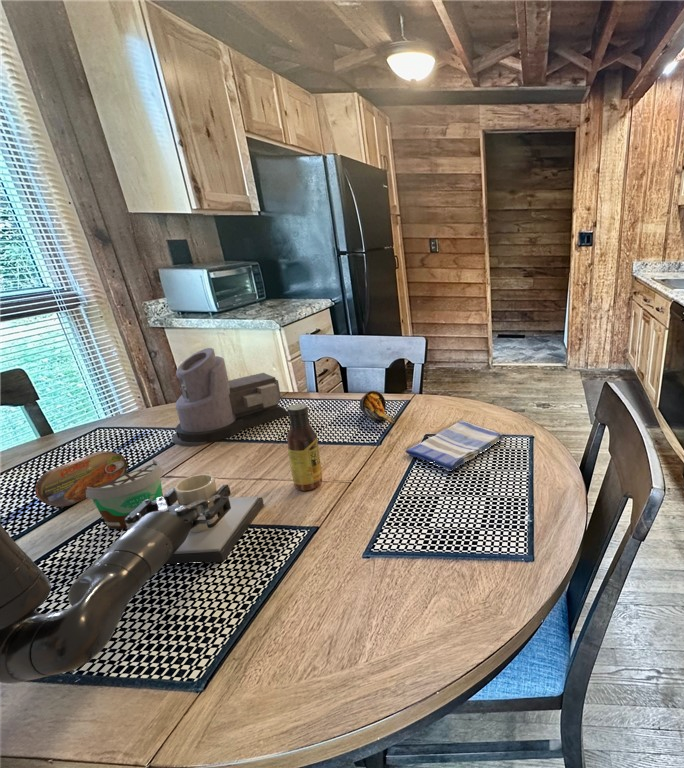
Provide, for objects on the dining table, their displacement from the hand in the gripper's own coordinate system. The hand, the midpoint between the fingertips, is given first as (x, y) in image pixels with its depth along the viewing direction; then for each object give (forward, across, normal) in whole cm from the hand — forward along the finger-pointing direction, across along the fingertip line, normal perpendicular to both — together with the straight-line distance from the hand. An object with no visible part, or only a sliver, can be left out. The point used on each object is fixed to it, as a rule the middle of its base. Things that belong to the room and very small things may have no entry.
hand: (203, 489), depth 81 cm
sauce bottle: (+14, -14, +9) cm, 22 cm away
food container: (+4, +15, +9) cm, 18 cm away
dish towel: (+30, -49, +9) cm, 58 cm away
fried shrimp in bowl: (+50, -24, +9) cm, 56 cm away
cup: (-2, 0, +6) cm, 7 cm away
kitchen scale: (-2, +1, +9) cm, 9 cm away
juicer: (+49, +19, +9) cm, 53 cm away
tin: (+14, +32, +9) cm, 36 cm away
